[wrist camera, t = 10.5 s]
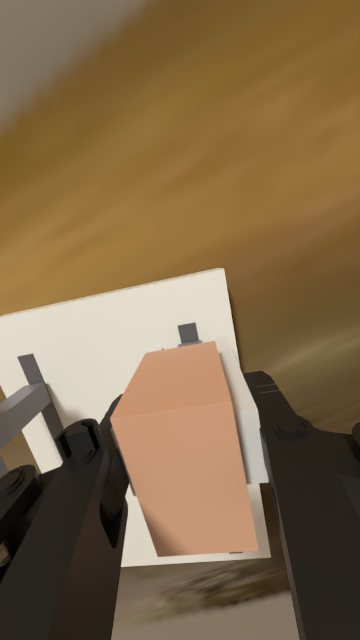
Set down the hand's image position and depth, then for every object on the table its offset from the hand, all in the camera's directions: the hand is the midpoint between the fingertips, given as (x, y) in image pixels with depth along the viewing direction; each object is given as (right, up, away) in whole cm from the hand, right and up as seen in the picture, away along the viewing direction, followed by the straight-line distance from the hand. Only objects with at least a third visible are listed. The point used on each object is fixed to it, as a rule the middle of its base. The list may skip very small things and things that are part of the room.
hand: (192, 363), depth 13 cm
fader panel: (-4, -7, +7) cm, 11 cm away
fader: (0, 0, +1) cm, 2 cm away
